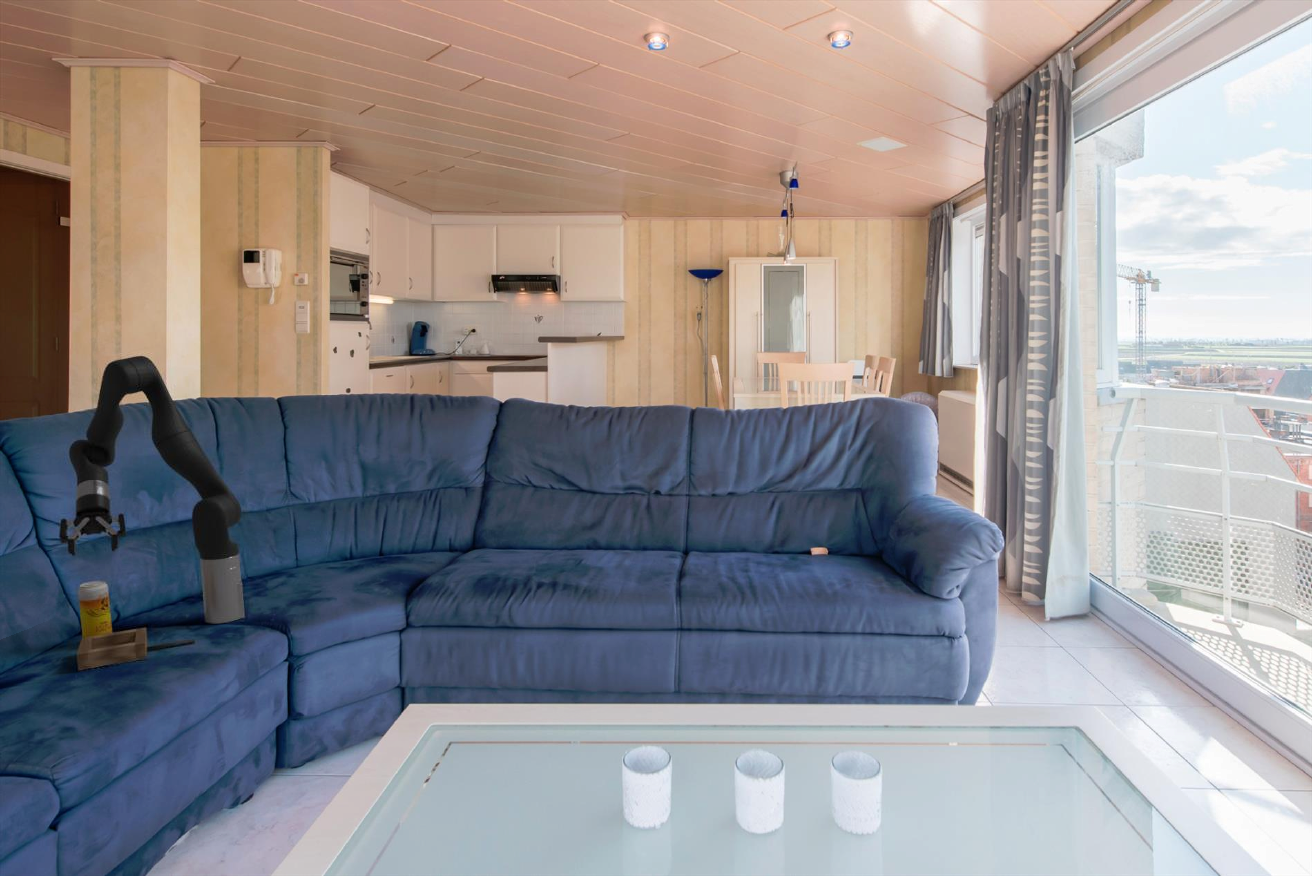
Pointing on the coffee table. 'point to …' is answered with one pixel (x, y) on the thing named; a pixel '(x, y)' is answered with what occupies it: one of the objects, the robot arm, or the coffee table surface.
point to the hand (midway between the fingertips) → (93, 551)
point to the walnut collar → (116, 648)
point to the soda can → (94, 608)
